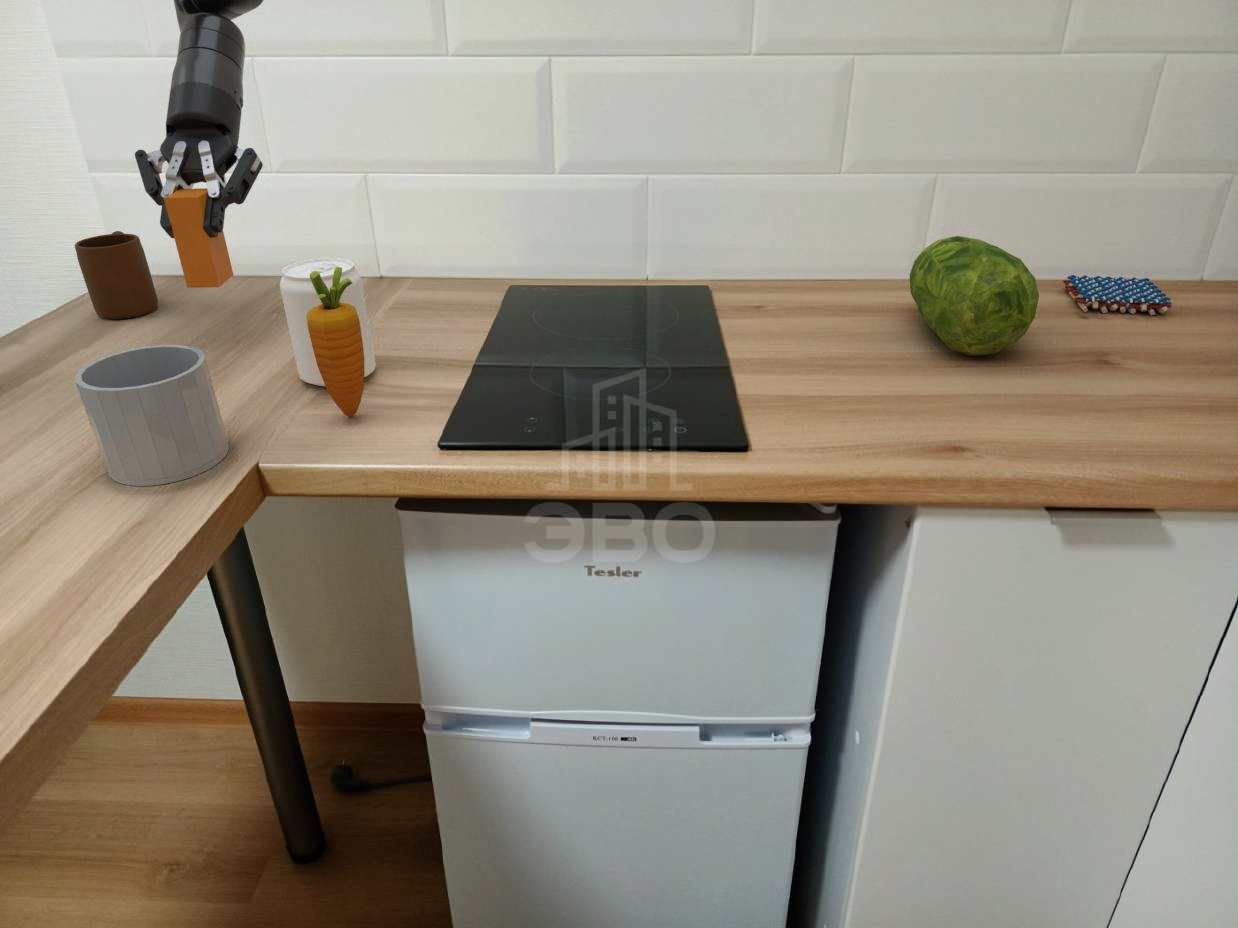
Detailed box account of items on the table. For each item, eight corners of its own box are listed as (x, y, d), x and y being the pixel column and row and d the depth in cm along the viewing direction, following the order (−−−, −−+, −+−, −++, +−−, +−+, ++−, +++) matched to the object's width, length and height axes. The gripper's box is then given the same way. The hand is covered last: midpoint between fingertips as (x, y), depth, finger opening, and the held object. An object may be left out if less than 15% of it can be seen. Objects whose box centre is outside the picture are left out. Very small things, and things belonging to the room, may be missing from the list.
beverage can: (283, 384, 92) (259, 274, 86) (332, 357, 99) (312, 253, 93) (346, 394, 89) (324, 282, 83) (391, 366, 96) (374, 260, 90)
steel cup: (82, 473, 76) (47, 379, 71) (173, 426, 84) (147, 338, 79) (165, 495, 72) (134, 397, 68) (252, 443, 80) (230, 353, 76)
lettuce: (968, 303, 111) (985, 215, 106) (1041, 364, 93) (1066, 262, 88) (880, 305, 111) (892, 217, 106) (936, 367, 93) (954, 265, 88)
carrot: (362, 401, 88) (336, 256, 80) (386, 417, 85) (361, 267, 77) (316, 416, 85) (284, 267, 78) (339, 433, 82) (309, 279, 74)
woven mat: (1058, 287, 117) (1062, 272, 116) (1144, 291, 115) (1148, 276, 114) (1078, 312, 108) (1082, 296, 107) (1171, 317, 106) (1176, 301, 105)
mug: (109, 296, 120) (87, 228, 115) (168, 290, 122) (149, 223, 117) (90, 323, 110) (66, 250, 105) (155, 317, 112) (134, 245, 107)
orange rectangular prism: (187, 288, 97) (163, 197, 92) (203, 276, 101) (180, 188, 96) (219, 287, 97) (197, 197, 92) (233, 275, 101) (213, 188, 96)
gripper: (126, 80, 95) (106, 217, 91) (255, 78, 96) (242, 214, 91) (160, 124, 103) (143, 253, 98) (279, 122, 103) (268, 250, 98)
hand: (191, 233), depth 95 cm, fingers closed on orange rectangular prism, 3 cm apart
